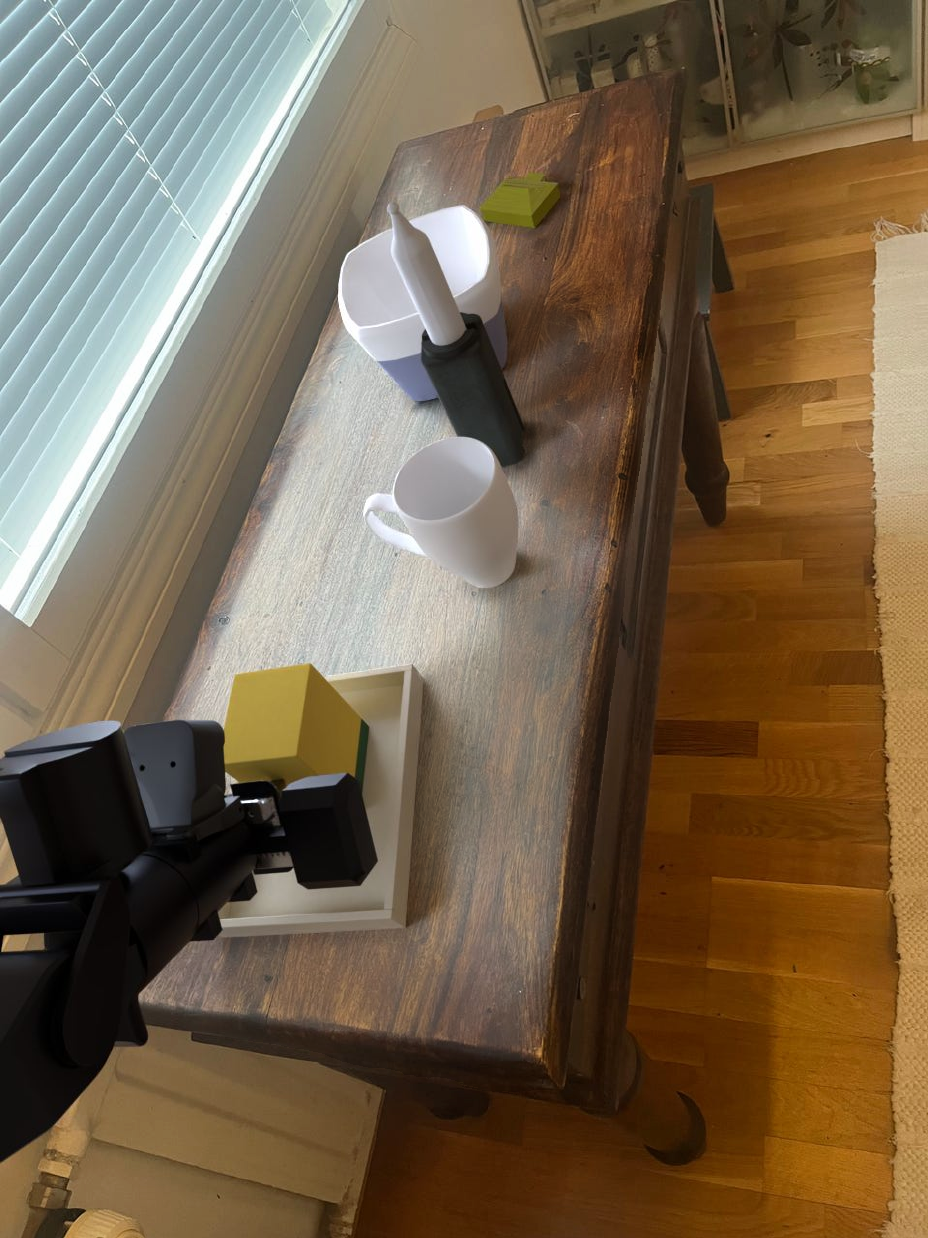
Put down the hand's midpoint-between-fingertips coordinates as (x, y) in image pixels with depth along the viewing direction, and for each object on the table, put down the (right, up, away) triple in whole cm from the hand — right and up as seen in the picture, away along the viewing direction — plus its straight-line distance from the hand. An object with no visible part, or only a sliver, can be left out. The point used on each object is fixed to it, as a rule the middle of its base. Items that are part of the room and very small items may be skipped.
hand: (281, 786), depth 63 cm
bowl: (+11, +37, +29) cm, 49 cm away
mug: (+13, +15, +14) cm, 25 cm away
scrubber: (+2, 0, +7) cm, 7 cm away
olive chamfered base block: (+19, +57, +39) cm, 72 cm away
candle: (+16, +27, +21) cm, 37 cm away
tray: (+2, -2, +6) cm, 7 cm away
